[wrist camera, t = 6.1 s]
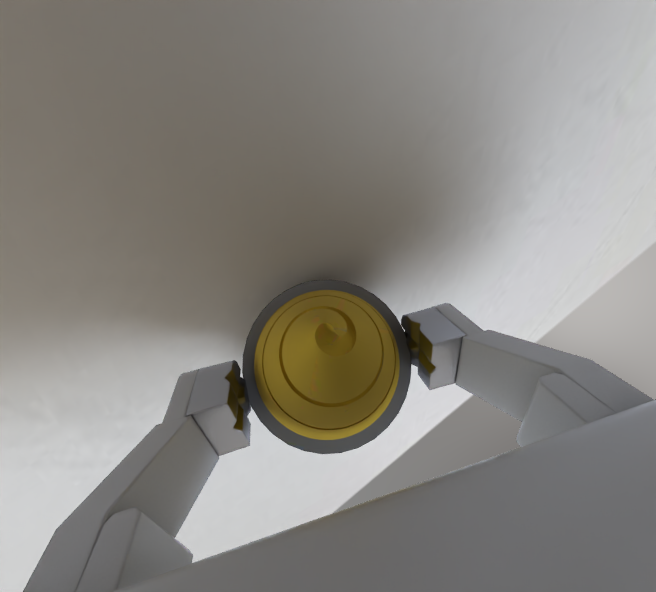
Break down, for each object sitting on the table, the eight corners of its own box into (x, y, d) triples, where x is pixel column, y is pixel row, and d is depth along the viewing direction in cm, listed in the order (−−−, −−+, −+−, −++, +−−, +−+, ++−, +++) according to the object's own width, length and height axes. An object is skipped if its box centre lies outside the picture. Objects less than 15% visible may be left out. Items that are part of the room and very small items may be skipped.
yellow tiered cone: (243, 375, 12) (-120, 396, 2) (315, 284, 13) (283, 41, 3) (340, 455, 11) (431, 1062, 1) (407, 350, 12) (714, 273, 3)
